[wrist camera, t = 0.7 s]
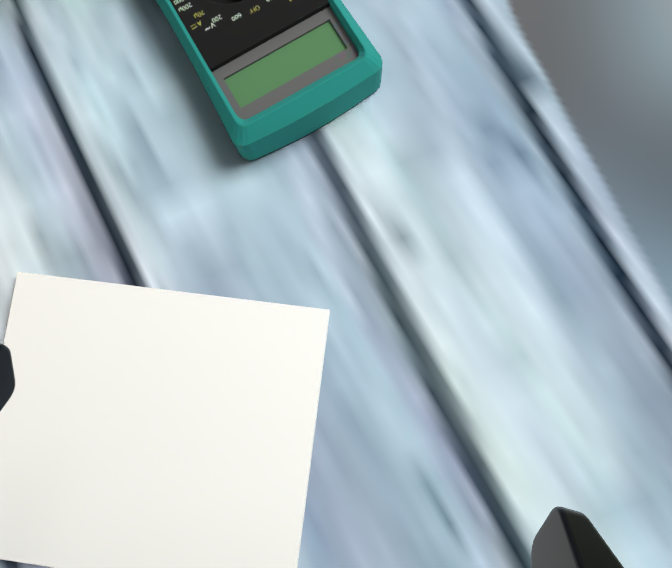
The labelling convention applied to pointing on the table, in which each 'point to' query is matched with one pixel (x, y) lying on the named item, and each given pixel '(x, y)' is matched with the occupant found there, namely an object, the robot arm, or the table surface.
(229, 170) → the table surface
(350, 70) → the digital multimeter
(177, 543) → the white mat
